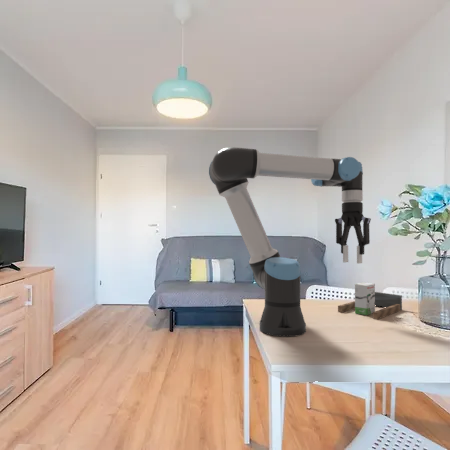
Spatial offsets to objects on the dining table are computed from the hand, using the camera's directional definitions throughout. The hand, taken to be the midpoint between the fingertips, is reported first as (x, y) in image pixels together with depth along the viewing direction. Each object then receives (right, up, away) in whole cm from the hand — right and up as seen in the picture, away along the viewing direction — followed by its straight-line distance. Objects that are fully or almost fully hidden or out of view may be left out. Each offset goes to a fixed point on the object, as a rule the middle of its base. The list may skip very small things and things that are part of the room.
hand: (352, 262), depth 129 cm
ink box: (+7, -21, +6) cm, 23 cm away
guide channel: (+10, -21, +9) cm, 25 cm away
